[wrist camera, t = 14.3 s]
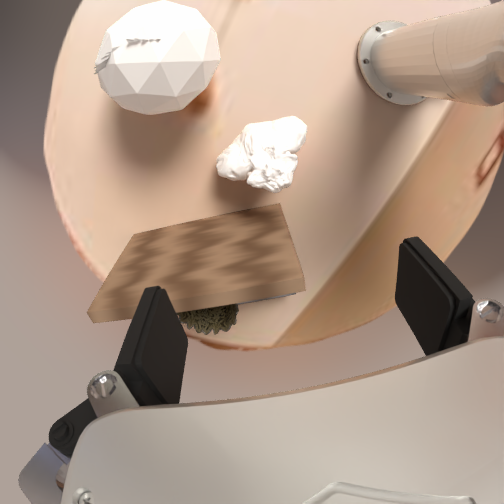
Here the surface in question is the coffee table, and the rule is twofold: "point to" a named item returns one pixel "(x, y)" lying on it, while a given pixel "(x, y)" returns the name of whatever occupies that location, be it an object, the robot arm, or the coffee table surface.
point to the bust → (264, 154)
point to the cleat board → (204, 264)
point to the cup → (210, 318)
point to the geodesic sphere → (157, 58)
